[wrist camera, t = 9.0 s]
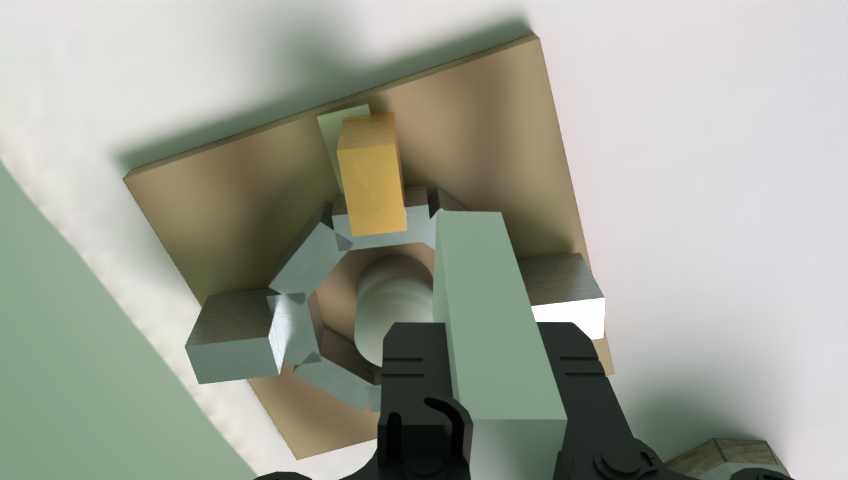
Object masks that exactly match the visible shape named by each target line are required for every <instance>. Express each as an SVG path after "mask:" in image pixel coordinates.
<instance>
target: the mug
mask: <svg viewBox="0 0 848 480" xmlns="http://www.w3.org/2000/svg"><path fill="white" fill-rule="evenodd" d="M664 466H665V467H666V468H668V469H670V470H672V471H675V472H678V473H680V474H683V475H686V476H690V477H694V478H697V479H701V480H729V479H730V477H731V475H732V474H733V473H735V472H737V471H739V470H741V469H743V468H760V467H761V468H765V469H769V470H773V471H777V472H781V473H783V474H784V475H786V476H788V477H790V475H789V473H788V471H787V470H786V468H785V467H784V466H783V464H782V463H781V461H780V460H779V459H778V457H777V456H776V454H775V453H774V451H773V450H772V449H771V447H770V446H769V444H768V443H767V442H766V441H750V440H732V439H714V438H713V439H711V440H709V441H707V442H705V443H703V444H701V445H699V446H697V447H696V448H694V449H692V450H690V451H688V452H686V453H684V454H682V455H680V456H678V457H676V458H674V459H672V460H670V461H668V462H666V463H664ZM790 478H791V477H790Z"/></svg>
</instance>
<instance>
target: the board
mask: <svg viewBox="0 0 848 480" xmlns="http://www.w3.org/2000/svg"><path fill="white" fill-rule="evenodd" d="M386 112H395V120H396V127H397V135H398V142H399V150H400V157H401V165H402V172H403V180H404V186H410V185H419V184H426V192H427V198H428V196H429V195H430V194H431V193H432V192H433V191H434V190H435V188H436V187H438V188H440V189H441V190H442V191H444V192H445V193H447V194H448V195H449V196H451V197H452V198H453V199H455V200H456V201H458V202H459V203H460V204H462V205H463V206H464V207H466V208H467V209H469V210H470V211H473V212H501V214H502V217H503V220H504V223H505V227H506V230H507V233H508V236H509V239H510V242H511V245H512V248H513V251H514V255H515V258H516V260H518V259H527V258H535V257H544V256H552V255H561V254H569V253H578V252H580V253H581V255H582V257H583V258H584V260H585V262H586V264H587V266H588V268H589V270H590V271H591V266H590V262H589V257H588V253H587V248H586V244H585V239H584V235H583V230H582V226H581V221H580V217H579V212H578V208H577V203H576V199H575V194H574V190H573V185H572V181H571V176H570V172H569V167H568V163H567V159H566V154H565V150H564V145H563V141H562V136H561V132H560V127H559V123H558V118H557V114H556V109H555V105H554V100H553V96H552V91H551V87H550V82H549V78H548V73H547V69H546V64H545V60H544V55H543V51H542V47H541V42H540V38H539V37H538V36H537V35H536V34H535V33H534V34H531V35H528V36H525V37H522V38H520V39H517V40H514V41H511V42H508V43H505V44H502V45H499V46H496V47H493V48H490V49H487V50H484V51H481V52H478V53H475V54H472V55H469V56H466V57H463V58H461V59H458V60H455V61H452V62H449V63H446V64H443V65H440V66H437V67H434V68H431V69H428V70H425V71H422V72H419V73H416V74H413V75H410V76H407V77H404V78H402V79H399V80H396V81H393V82H390V83H387V84H384V85H381V86H378V87H375V88H372V89H369V90H366V91H363V92H360V93H357V94H354V95H351V96H348V97H345V98H343V99H340V100H337V101H334V102H331V103H328V104H325V105H322V106H319V107H316V108H313V109H310V110H307V111H304V112H301V113H298V114H295V115H292V116H289V117H286V118H284V119H281V120H278V121H275V122H272V123H269V124H266V125H263V126H260V127H257V128H254V129H251V130H248V131H245V132H242V133H239V134H236V135H233V136H230V137H227V138H225V139H222V140H219V141H216V142H213V143H210V144H207V145H204V146H201V147H198V148H195V149H192V150H189V151H186V152H183V153H180V154H177V155H174V156H171V157H168V158H165V159H163V160H160V161H157V162H154V163H151V164H148V165H145V166H142V167H139V168H136V169H133V170H131V171H130V172H129V173H128V174H127V175H126V176H125V177H124V178H123V181H124V183H125V184H126V186H127V187H128V189H129V191H130V192H131V194H132V196H133V197H134V199H135V200H136V202H137V204H138V205H139V207H140V208H141V210H142V212H143V213H144V215H145V216H146V218H147V220H148V221H149V223H150V224H151V226H152V228H153V229H154V231H155V233H156V234H157V236H158V237H159V239H160V241H161V242H162V244H163V245H164V247H165V249H166V250H167V252H168V253H169V255H170V257H171V258H172V260H173V262H174V263H175V265H176V266H177V268H178V270H179V271H180V273H181V274H182V276H183V278H184V279H185V281H186V282H187V284H188V286H189V287H190V289H191V290H192V292H193V294H194V295H195V297H196V299H197V300H198V302H199V303H200V305H201V307H202V308H203V306H204V303H205V301H206V299H207V297H208V296H209V295H217V294H226V293H234V292H243V291H252V290H260V289H269V287H268V286H269V283H270V279H271V276H272V273H273V270H274V267H275V263H276V261H277V260H278V258H279V257H280V256H281V255H282V253H283V252H284V251H285V250H286V248H287V247H288V246H289V245H290V243H291V242H292V241H293V240H294V238H295V237H296V236H297V235H298V233H299V232H300V231H301V230H302V228H303V227H304V226H305V224H306V223H307V222H308V221H309V219H310V218H311V217H312V216H313V214H314V213H315V212H316V211H317V209H318V208H319V207H320V206H321V204H322V203H323V202H324V201H325V200H326V201H328V202H329V203H331V204H332V205H334V200H335V194H342V193H344V188H343V183H342V178H341V172H340V167H339V162H338V156H337V146H338V141H339V136H340V132H341V127H342V122H343V118H344V117H352V116H360V115H369V114H377V113H386ZM434 262H435V250H434V249H433V248H431V247H430V246H428V245H427V244H425V243H424V242H416V243H407V244H399V245H390V246H381V247H373V248H364V249H356V250H348V251H347V253H346V254H345V255H344V256H343V257H342V258H341V260H340V261H339V262H338V263H337V264H336V265H335V267H334V268H333V269H332V270H331V271H330V273H329V274H328V275H327V276H326V277H325V278H324V280H323V281H322V282H321V283H320V284H319V286H318V287H317V288H316V289H315V290H316V294H317V299H318V303H319V307H320V312H321V316H322V320H323V324H324V328H326V329H328V330H329V331H331V332H333V333H335V334H336V335H338V336H340V337H341V338H343V339H345V340H347V341H348V342H350V343H352V344H353V345H355V346H357V349H358V350H359V352H360V353H361V354H362V356H363V357H364V358H366V359H367V360H368V361H370V362H371V363H373V364H375V365H377V366H380V367H382V354H383V338H384V337H385V335H386V334H387V332H388V331H389V329H390V328H391V326H392V325H393V323H394V322H433V311H432V301H433V281H434ZM591 273H592V271H591ZM591 340H592V343H593V345H594V347H595V350H596V352H597V354H598V356H599V361H601V363H602V366H603V368H604V370H605V373H606V374H605V375H606V376H608V375H612V374H614V369H613V365H612V360H611V356H610V351H609V347H608V342H607V338H606V333H605V329H604V325H603V338H597V339H591ZM293 368H294V365H291V366H286V365H285V361H284V358H283V362H282V366H281V370H280V375H276V376H267V377H258V378H250V379H247V381H248V382H249V384H250V385H251V387H252V389H253V390H254V392H255V394H256V395H257V397H258V398H259V400H260V402H261V403H262V405H263V406H264V408H265V410H266V411H267V413H268V414H269V416H270V418H271V419H272V421H273V423H274V424H275V426H276V427H277V429H278V431H279V432H280V434H281V435H282V437H283V439H284V440H285V442H286V443H287V445H288V447H289V448H290V450H291V451H292V453H293V455H294V456H295V458H296V460H300V459H304V458H307V457H311V456H315V455H318V454H322V453H326V452H329V451H333V450H337V449H340V448H344V447H348V446H351V445H355V444H359V443H362V442H366V441H370V440H373V439H377V424H378V421H379V418H380V411H378V412H371V409H370V404H369V402H368V404H367V405H366V406H365V407H364V408H363V409H362V410H359V409H357V408H355V407H353V406H352V405H350V404H348V403H346V402H344V401H342V400H340V399H339V398H337V397H335V396H333V395H331V394H329V393H327V392H326V391H324V390H322V389H320V388H318V387H316V386H314V385H313V384H311V383H309V382H307V381H305V380H303V379H301V378H300V377H298V376H296V375H294V374H292V373H293Z"/></svg>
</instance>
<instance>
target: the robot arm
mask: <svg viewBox="0 0 848 480" xmlns="http://www.w3.org/2000/svg"><path fill="white" fill-rule="evenodd" d="M432 311H433V322H394V323H393V325H392V326H391V328H390V329H389V331H388V332H387V334H386V335H385V337H384V338H383V354H382V382H381V409H380V418H379V421H378V424H377V449H376V451H375V453H374V455H373V457H372V458H371V459H370V460H369V461H368V463H367V464H366V465H365V466H364V467H362V468H361V469H359V470H358V471H356V472H355V473H353V474H352V475H349V476H347V477H344V478H342V479H339V480H701V479H697V478H694V477H690V476H686V475H683V474H680V473H678V472H675V471H672V470H670V469H668V468H666V467H665V466H664V464H663V463H662V461H661V460H660V458H659V457H658V456H657V454H656V453H655V451H653V450H652V449H651V448H649V447H648V446H647V445H646V444H644V443H643V442H642V441H640V440H638V439H636V438H634V437H633V435H632V433H631V430H630V428H629V426H628V423H627V421H626V419H625V416H624V414H623V412H622V410H621V407H620V405H619V403H618V400H617V398H616V396H615V393H614V391H613V389H612V386H611V384H610V382H609V380H608V377H606V375H605V374H606V373H605V370H604V368H603V366H602V363H601V361H599V356H598V354H597V352H596V350H595V347H594V345H593V343H592V340H591V338H590V337H589V336H588V335H587V334H586V333H584V332H583V331H582V330H581V329H580V328H579V327H578V326H577V325H576V324H575V323H574V322H536V320H535V317H534V313H533V310H532V307H531V304H530V301H529V298H528V295H527V292H526V289H525V286H524V282H523V279H522V276H521V273H520V270H519V267H518V264H517V261H516V258H515V255H514V251H513V248H512V245H511V242H510V239H509V236H508V233H507V230H506V227H505V223H504V220H503V217H502V214H501V212H473V211H437V223H436V242H435V262H434V281H433V301H432ZM254 480H312V479H311V478H309V477H306V476H304V475H301V474H299V473H296V472H274V473H270V474H267V475H263V476H260V477H257V478H256V479H254ZM729 480H794V479H792V478H790V477H788V476H786V475H784V474H783V473H781V472H777V471H773V470H769V469H765V468H761V467H760V468H743V469H741V470H739V471H737V472H735V473H733V474H732V475H731V477H730V479H729Z"/></svg>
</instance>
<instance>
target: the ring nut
mask: <svg viewBox="0 0 848 480" xmlns="http://www.w3.org/2000/svg"><path fill="white" fill-rule="evenodd" d="M337 156H338V162H339V167H340V172H341V178H342V183H343V188H344V193H342V194H335V200H334V205H332V204H331V203H329V202H328V201H326V200H325V201H324V202H323V203H322V204H321V206H320V207H319V208H318V209H317V211H316V212H315V213H314V214H313V216H312V217H311V218H310V219H309V221H308V222H307V223H306V224H305V226H304V227H303V228H302V230H301V231H300V232H299V233H298V235H297V236H296V237H295V238H294V240H293V241H292V242H291V243H290V245H289V246H288V247H287V248H286V250H285V251H284V252H283V253H282V255H281V256H280V257H279V258H278V260H277V261H276V263H275V267H274V270H273V273H272V276H271V279H270V283H269V286H268V287H269V289H260V290H252V291H243V292H234V293H226V294H217V295H209V296H208V297H207V299H206V301H205V303H204V306H203V308H202V310H201V312H200V314H199V316H198V319H197V321H196V323H195V325H194V327H193V330H192V332H191V334H190V336H189V338H188V341H187V343H186V345H185V349H186V351H187V354H188V356H189V359H190V362H191V364H192V367H193V370H194V372H195V375H196V378H197V380H198V383H199V384H206V383H215V382H224V381H232V380H241V379H250V378H258V377H267V376H276V375H280V370H281V366H282V362H283V358H284V361H285V365H286V366H291V365H294V368H293V373H292V374H294V375H296V376H298V377H300V378H301V379H303V380H305V381H307V382H309V383H311V384H313V385H314V386H316V387H318V388H320V389H322V390H324V391H326V392H327V393H329V394H331V395H333V396H335V397H337V398H339V399H340V400H342V401H344V402H346V403H348V404H350V405H352V406H353V407H355V408H357V409H359V410H362V409H363V408H364V407H365V406H366V405H367V404H368V402H369V404H370V409H371V412H378V411H380V409H381V382H382V367H380V366H377V365H375V364H373V363H371V362H370V361H368V360H367V359H366V358H364V357H363V356H362V354H361V353H360V352H359V350H358V349H357V346H355V345H353V344H352V343H350V342H348V341H347V340H345V339H343V338H341V337H340V336H338V335H336V334H335V333H333V332H331V331H329V330H328V329H326V328H324V324H323V320H322V316H321V312H320V307H319V303H318V299H317V294H316V290H315V289H316V288H317V287H318V286H319V284H320V283H321V282H322V281H323V280H324V278H325V277H326V276H327V275H328V274H329V273H330V271H331V270H332V269H333V268H334V267H335V265H336V264H337V263H338V262H339V261H340V260H341V258H342V257H343V256H344V255H345V254H346V253H347V251H348V250H356V249H364V248H373V247H381V246H390V245H399V244H407V243H416V242H424V243H425V244H427V245H428V246H430V247H431V248H433V249H434V250H435V242H436V223H437V211H470V210H469V209H467V208H466V207H464V206H463V205H462V204H460V203H459V202H458V201H456V200H455V199H453V198H452V197H451V196H449V195H448V194H447V193H445V192H444V191H442V190H441V189H440V188H438V187H436V188H435V190H434V191H433V192H432V193H431V194H430V195H429V196H428V198H427V192H426V184H419V185H410V186H404V180H403V172H402V165H401V157H400V150H399V142H398V135H397V127H396V120H395V112H386V113H377V114H369V115H360V116H352V117H344V118H343V122H342V127H341V132H340V136H339V141H338V146H337ZM516 261H517V264H518V267H519V270H520V273H521V276H522V279H523V282H524V286H525V289H526V292H527V295H528V298H529V301H530V304H531V307H532V310H533V313H534V317H535V320H536V322H574V323H575V324H576V325H577V326H578V327H579V328H580V329H581V330H582V331H583V332H584V333H586V334H587V335H588V336H589V337H590V338H591V339H597V338H603V325H604V303H605V298H604V296H603V294H602V292H601V290H600V288H599V286H598V284H597V283H596V281H595V279H594V277H593V275H592V273H591V271H590V270H589V268H588V266H587V264H586V262H585V260H584V258H583V257H582V255H581V253H580V252H578V253H569V254H561V255H552V256H544V257H535V258H527V259H518V260H516Z"/></svg>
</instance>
